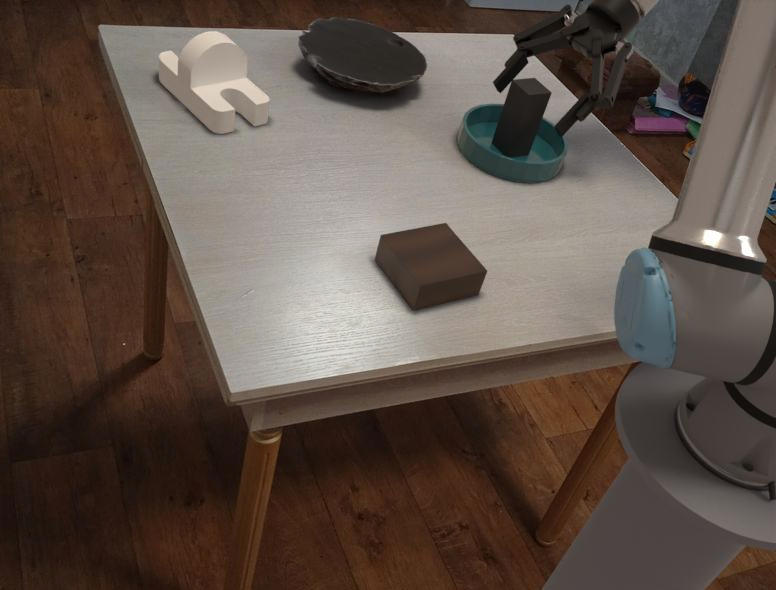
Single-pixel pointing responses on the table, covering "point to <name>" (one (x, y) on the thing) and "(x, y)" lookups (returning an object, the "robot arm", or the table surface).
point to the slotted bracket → (214, 82)
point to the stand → (430, 265)
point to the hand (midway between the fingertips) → (526, 109)
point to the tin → (487, 157)
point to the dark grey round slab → (361, 55)
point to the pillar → (521, 117)
